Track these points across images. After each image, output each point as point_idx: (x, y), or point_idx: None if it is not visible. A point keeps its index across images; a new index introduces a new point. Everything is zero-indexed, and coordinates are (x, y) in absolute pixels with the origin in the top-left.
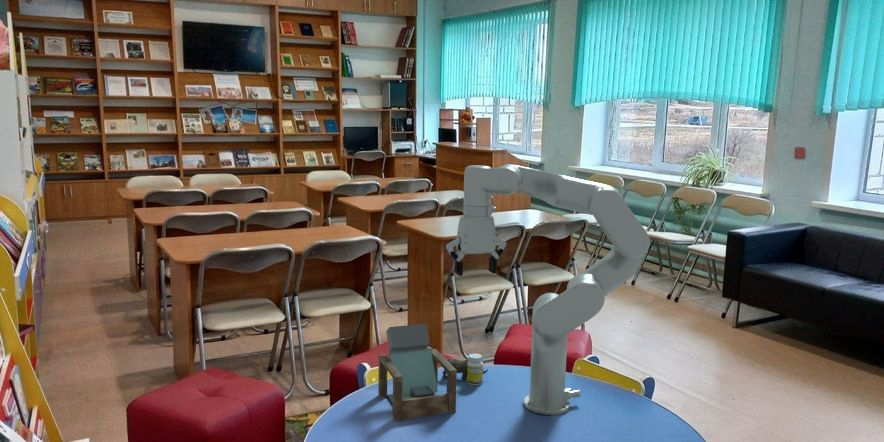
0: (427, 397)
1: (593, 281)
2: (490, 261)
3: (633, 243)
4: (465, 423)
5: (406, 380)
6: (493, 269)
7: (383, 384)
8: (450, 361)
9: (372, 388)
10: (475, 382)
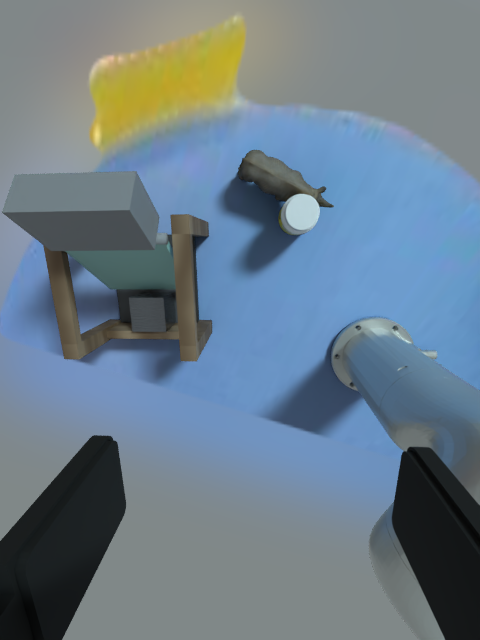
0: (154, 337)
1: None
2: (463, 586)
3: None
4: (214, 370)
5: (121, 276)
6: (411, 559)
7: None
8: (252, 172)
9: None
10: (289, 234)
